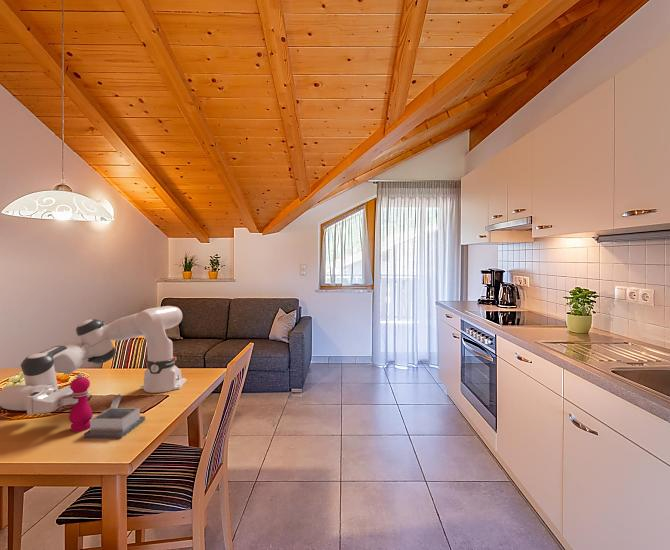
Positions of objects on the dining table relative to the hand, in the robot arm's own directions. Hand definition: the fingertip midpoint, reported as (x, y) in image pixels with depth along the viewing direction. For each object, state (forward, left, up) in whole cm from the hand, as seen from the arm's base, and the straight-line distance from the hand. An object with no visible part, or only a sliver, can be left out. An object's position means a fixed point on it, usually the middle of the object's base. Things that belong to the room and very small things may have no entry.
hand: (82, 398), depth 147 cm
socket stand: (0, +12, -11) cm, 16 cm away
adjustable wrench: (-18, +1, -11) cm, 21 cm away
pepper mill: (0, -1, -11) cm, 11 cm away
